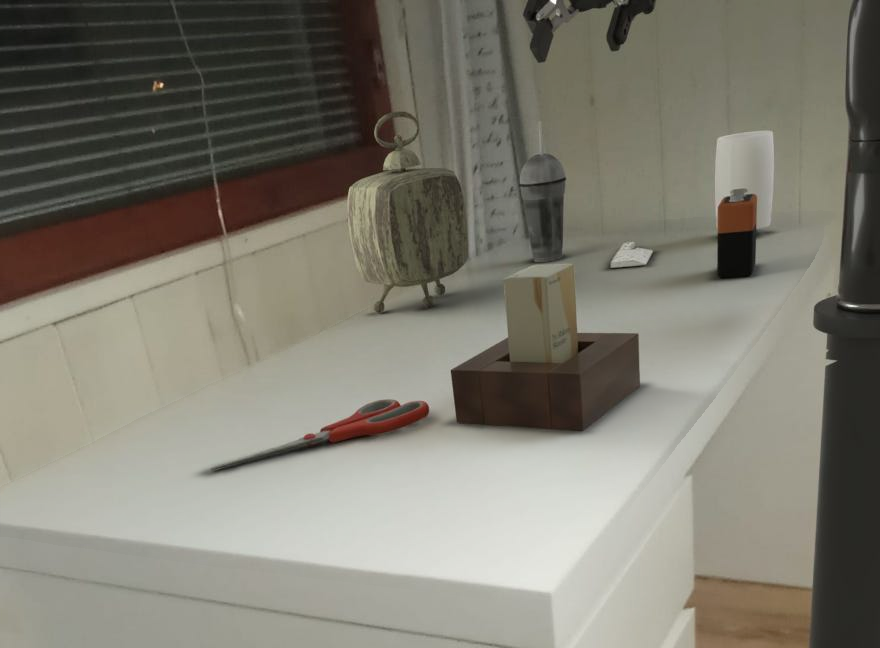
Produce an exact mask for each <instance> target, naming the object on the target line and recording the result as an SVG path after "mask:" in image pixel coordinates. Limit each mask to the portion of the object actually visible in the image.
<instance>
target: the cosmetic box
mask: <svg viewBox="0 0 880 648" xmlns="http://www.w3.org/2000/svg"><path fill="white" fill-rule="evenodd" d="M502 280H503V291H504V301H505V303H504V304H505V315H506V316H505V317H506V326H507V327H506V328H507V338H508V340H509V353H510V362H538V363H564V362H566V361H567V360H569V359H570V358H572V357H573V356H575V355H576V354H578V336H577V333H578V322H577V321H578V320H577V302H576V299H577V297H576V283H575V280H576V279H575V264H574V263H545V264H541V263H540V264H532V265H530V266H528V267H526V268H524V269H521V270H518V271H516V272H514V273H513V274H511V275H509V276H506V277H504V278H503V279H502Z"/></svg>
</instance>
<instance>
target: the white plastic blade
mask: <svg viewBox="0 0 880 648" xmlns="http://www.w3.org/2000/svg"><path fill="white" fill-rule="evenodd" d="M635 245H636V244H635V241H629V242H628V241H627V242H623V244H622V245H621V247H620V248H619V250H618V251H617V252H616V253H615V255H614V256H613V257H612V259H611V261H610V268H612V269H613V268H615V269H616V268H623V267H625V268H626V267H636V266H637V267H638V266H646V265H647V263H648V261H649V260H650V258H651V256H652V254H653V252H654V250H652V249H647V248H642V247H636V246H635ZM635 247H636V248H635Z"/></svg>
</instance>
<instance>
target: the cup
mask: <svg viewBox="0 0 880 648" xmlns="http://www.w3.org/2000/svg"><path fill="white" fill-rule="evenodd" d="M714 163H715V164H714V207H715V208H714V209H715V223H716V226H715V227H716V231H718V206H719V204H720V203H721V201H722V199H723V198H724V197H727V196H730V195H734V194H730V191H731V190H734V189H742V188H745V189H747V192H746V193H744V194H745V195H747V194H755V195H756V196H757V221H756V230H759V229H763V228H767V227H769V226H770V225H771V222H772V211H773V201H774V200H773V198H774V181H775V180H774V178H775V145H774V132H773V130H754V131H746V132H739V133H732V134H728V135H723V136H719V137H718V138H717V140H716V149H715V162H714Z"/></svg>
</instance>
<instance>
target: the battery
mask: <svg viewBox="0 0 880 648" xmlns="http://www.w3.org/2000/svg"><path fill="white" fill-rule="evenodd" d="M746 192H747V189H745V188H742V189H734V190H731V191H730V194H734V195H730V196H727V197H724V198H723V199H722V201H721V203H720V204H719V206H718V230H717V251H716V252H717V253H716V256H717V257H716V260H717V261H716V263H717V264H716V265H717V267H716V272H717V273H716V276H717V278H720V279H731V278H744V277H745V278H746V277H750V276H752V273H753V272H754V270H755V267H756V262H757V261H756V260H757V259H756V258H757V257H756V255H757V249H756V248H757V229H756V221H757V196H756V195H755V194H747V195H745V194H744V193H746Z"/></svg>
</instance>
